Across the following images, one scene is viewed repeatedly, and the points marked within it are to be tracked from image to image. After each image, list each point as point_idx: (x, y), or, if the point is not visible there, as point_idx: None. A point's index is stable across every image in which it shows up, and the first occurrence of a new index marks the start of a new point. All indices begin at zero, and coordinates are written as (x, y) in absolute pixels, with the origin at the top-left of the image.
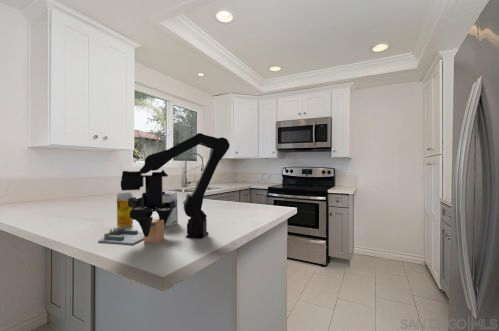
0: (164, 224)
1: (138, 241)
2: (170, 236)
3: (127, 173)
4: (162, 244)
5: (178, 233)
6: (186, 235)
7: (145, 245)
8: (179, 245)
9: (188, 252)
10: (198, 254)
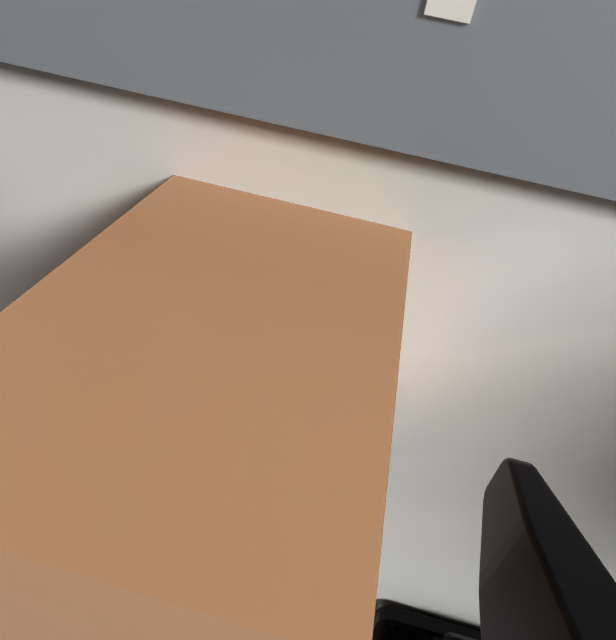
0: (481, 627)
1: (105, 81)
2: (458, 475)
3: None
4: None
5: (606, 544)
6: (402, 622)
7: (36, 267)
8: None
9: None
10: None
